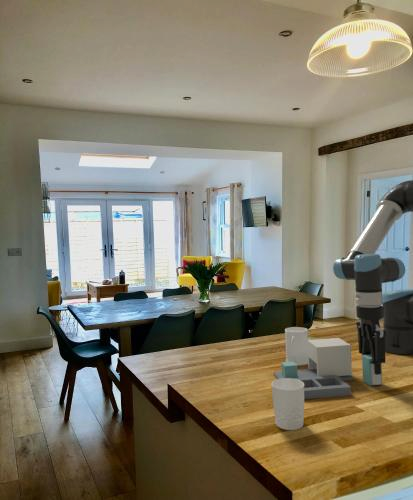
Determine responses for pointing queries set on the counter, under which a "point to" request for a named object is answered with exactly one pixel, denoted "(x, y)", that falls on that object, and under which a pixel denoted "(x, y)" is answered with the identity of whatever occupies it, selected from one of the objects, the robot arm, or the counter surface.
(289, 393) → the white cup
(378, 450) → the counter surface
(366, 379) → the peg
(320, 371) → the cover
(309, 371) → the board
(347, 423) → the counter surface
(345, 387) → the socket board
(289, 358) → the mug
